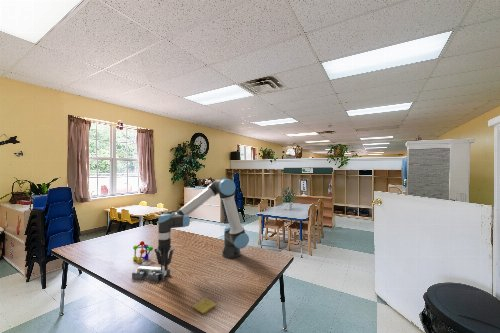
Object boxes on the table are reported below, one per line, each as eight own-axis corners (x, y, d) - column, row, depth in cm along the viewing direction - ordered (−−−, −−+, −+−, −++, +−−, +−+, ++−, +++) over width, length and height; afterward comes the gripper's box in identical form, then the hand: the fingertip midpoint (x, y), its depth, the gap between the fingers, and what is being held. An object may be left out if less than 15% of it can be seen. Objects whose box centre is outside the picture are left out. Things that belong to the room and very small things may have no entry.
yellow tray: (202, 316, 104) (202, 312, 104) (191, 309, 109) (191, 305, 110) (216, 308, 111) (216, 303, 111) (205, 301, 116) (205, 297, 116)
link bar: (163, 276, 144) (163, 267, 144) (160, 279, 140) (160, 269, 140) (140, 274, 146) (140, 265, 146) (137, 277, 143) (137, 268, 143)
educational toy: (155, 260, 172) (156, 241, 172) (140, 266, 161) (141, 246, 161) (143, 254, 180) (144, 236, 179) (127, 260, 169) (128, 240, 168)
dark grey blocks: (171, 274, 146) (171, 267, 146) (162, 281, 136) (162, 274, 136) (142, 272, 149) (142, 265, 149) (132, 279, 139) (132, 271, 139)
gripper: (176, 237, 145) (176, 273, 144) (158, 236, 147) (158, 271, 146) (171, 240, 137) (170, 278, 137) (151, 239, 139) (151, 277, 139)
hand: (164, 275), depth 141 cm, fingers closed
